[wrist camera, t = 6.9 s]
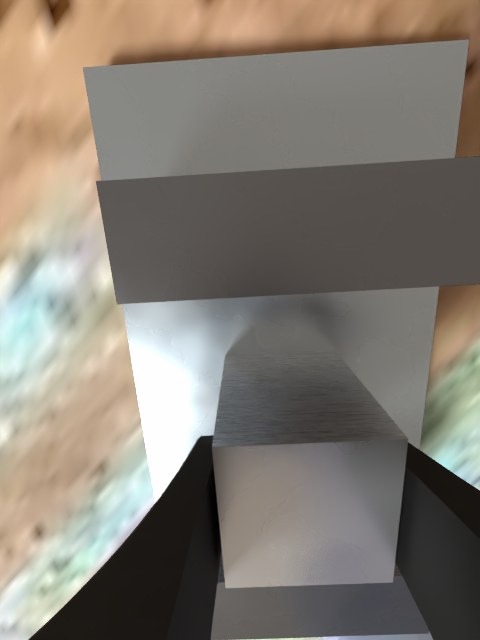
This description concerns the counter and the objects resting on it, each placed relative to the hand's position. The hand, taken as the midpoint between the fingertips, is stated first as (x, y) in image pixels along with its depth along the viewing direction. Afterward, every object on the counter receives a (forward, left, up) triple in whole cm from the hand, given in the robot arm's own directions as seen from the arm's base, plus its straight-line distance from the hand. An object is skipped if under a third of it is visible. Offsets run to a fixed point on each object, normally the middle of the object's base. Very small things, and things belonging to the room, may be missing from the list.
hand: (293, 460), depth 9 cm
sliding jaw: (+7, 0, -2) cm, 7 cm away
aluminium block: (0, 0, -3) cm, 3 cm away
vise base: (+1, 0, -4) cm, 4 cm away
